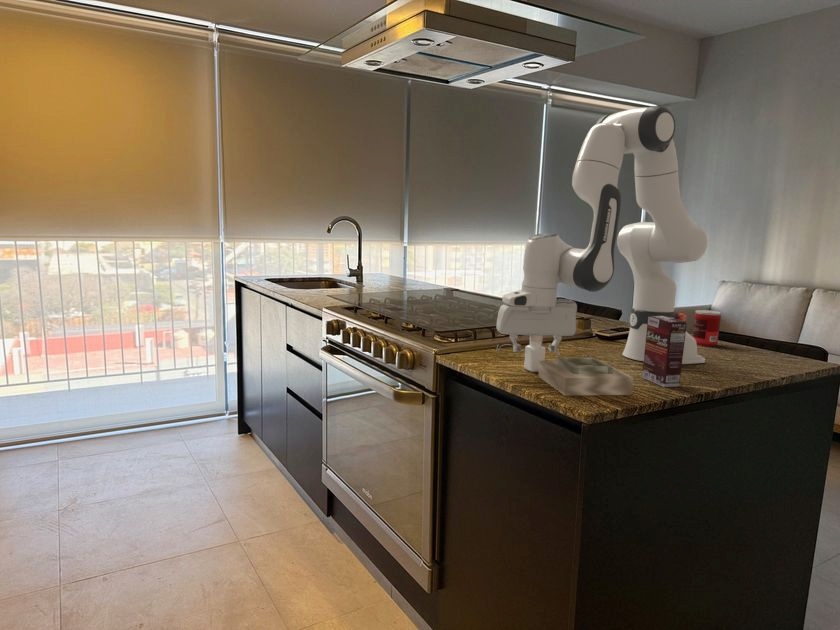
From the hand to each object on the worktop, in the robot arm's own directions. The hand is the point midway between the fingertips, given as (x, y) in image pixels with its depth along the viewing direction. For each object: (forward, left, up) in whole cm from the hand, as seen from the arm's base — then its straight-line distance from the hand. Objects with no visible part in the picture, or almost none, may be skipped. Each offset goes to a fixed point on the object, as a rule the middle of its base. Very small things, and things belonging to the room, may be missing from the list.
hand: (534, 351), depth 148 cm
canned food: (-72, -34, -5) cm, 80 cm away
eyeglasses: (-6, -22, -6) cm, 24 cm away
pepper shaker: (0, 0, -5) cm, 5 cm away
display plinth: (-7, +14, -5) cm, 16 cm away
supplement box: (-28, +12, -5) cm, 31 cm away
